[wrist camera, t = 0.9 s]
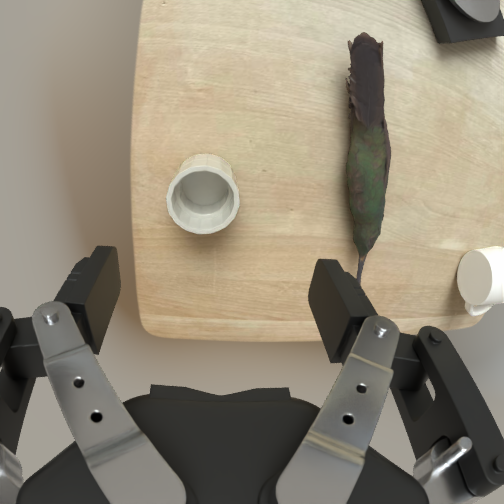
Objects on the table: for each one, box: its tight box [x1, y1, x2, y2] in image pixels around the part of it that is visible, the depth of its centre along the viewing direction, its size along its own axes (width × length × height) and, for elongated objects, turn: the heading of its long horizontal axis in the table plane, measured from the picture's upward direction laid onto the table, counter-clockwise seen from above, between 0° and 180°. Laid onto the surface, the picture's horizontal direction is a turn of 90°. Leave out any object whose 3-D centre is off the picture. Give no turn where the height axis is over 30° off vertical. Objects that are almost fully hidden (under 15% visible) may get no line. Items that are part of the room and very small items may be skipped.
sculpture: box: [346, 32, 391, 284], centre depth 29 cm, size 5×29×5 cm, turn 6°
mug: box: [457, 246, 504, 316], centre depth 37 cm, size 12×9×8 cm
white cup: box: [166, 153, 240, 234], centre depth 28 cm, size 6×6×5 cm
